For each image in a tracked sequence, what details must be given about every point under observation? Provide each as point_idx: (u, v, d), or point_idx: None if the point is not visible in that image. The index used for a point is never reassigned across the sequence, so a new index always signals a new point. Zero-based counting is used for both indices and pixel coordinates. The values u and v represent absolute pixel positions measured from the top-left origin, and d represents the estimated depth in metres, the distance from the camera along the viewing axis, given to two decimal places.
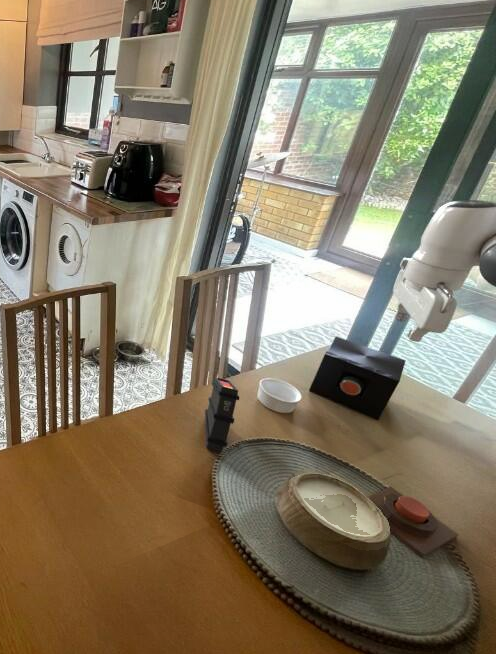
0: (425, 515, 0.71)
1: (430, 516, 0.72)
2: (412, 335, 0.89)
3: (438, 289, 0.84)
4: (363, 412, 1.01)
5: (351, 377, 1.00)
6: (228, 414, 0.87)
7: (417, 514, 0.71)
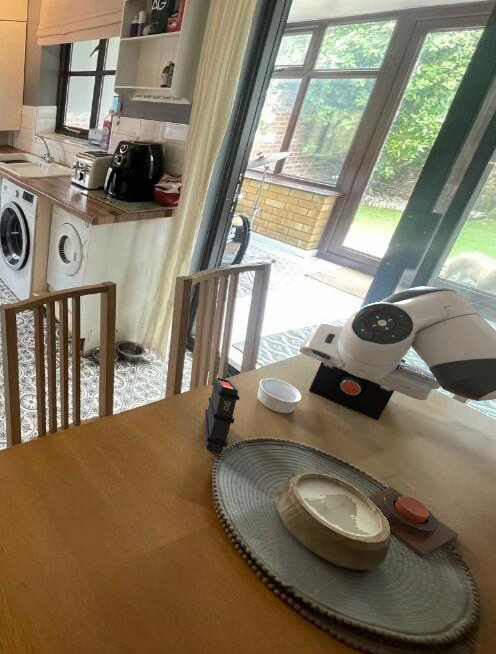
0: (425, 515, 0.71)
1: (430, 516, 0.72)
2: (390, 389, 0.83)
3: (401, 371, 0.75)
4: (363, 412, 1.01)
5: (351, 377, 1.00)
6: (228, 414, 0.87)
7: (417, 514, 0.71)
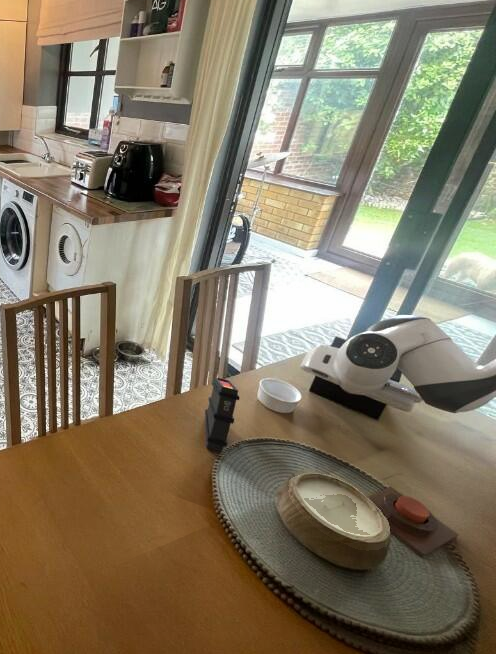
0: (425, 515, 0.71)
1: (430, 516, 0.72)
2: None
3: (389, 388, 0.86)
4: (363, 412, 1.01)
5: None
6: (228, 414, 0.87)
7: (417, 514, 0.71)
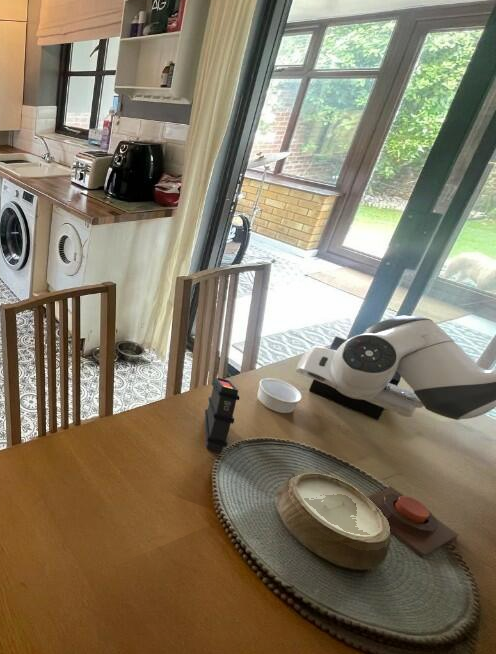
0: (425, 515, 0.71)
1: (430, 516, 0.72)
2: None
3: (388, 392, 0.82)
4: (363, 412, 1.01)
5: None
6: (228, 414, 0.87)
7: (417, 514, 0.71)
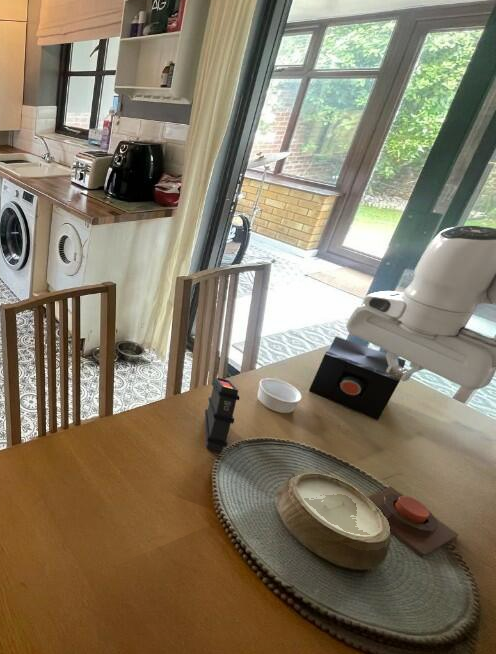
0: (425, 515, 0.71)
1: (430, 516, 0.72)
2: (406, 376, 0.77)
3: (464, 336, 0.69)
4: (363, 412, 1.01)
5: (351, 377, 1.00)
6: (228, 414, 0.87)
7: (417, 514, 0.71)
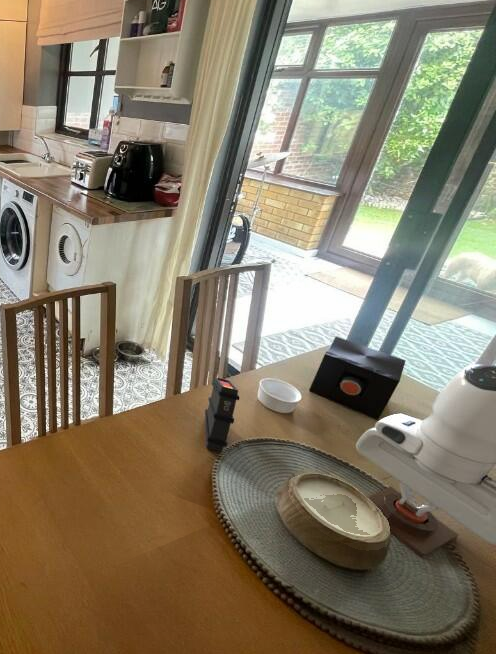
0: (423, 518, 0.71)
1: (430, 516, 0.72)
2: (422, 512, 0.71)
3: (487, 486, 0.63)
4: (363, 412, 1.01)
5: (351, 377, 1.00)
6: (228, 414, 0.87)
7: (415, 517, 0.72)
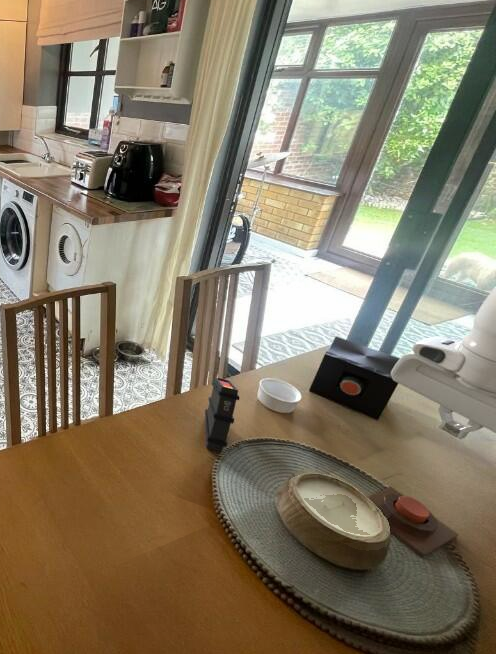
0: (425, 515, 0.71)
1: (430, 516, 0.72)
2: (464, 434, 0.69)
3: None
4: (363, 412, 1.01)
5: (351, 377, 1.00)
6: (228, 414, 0.87)
7: (417, 514, 0.71)
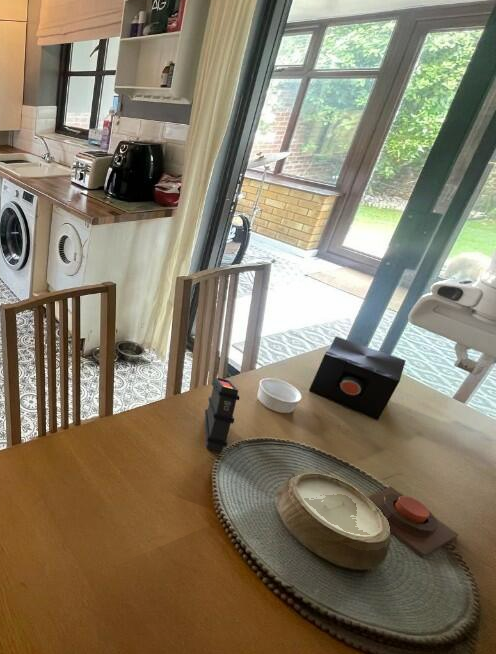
0: (425, 515, 0.71)
1: (430, 516, 0.72)
2: (478, 369, 0.72)
3: None
4: (363, 412, 1.01)
5: (351, 377, 1.00)
6: (228, 414, 0.87)
7: (417, 514, 0.71)
